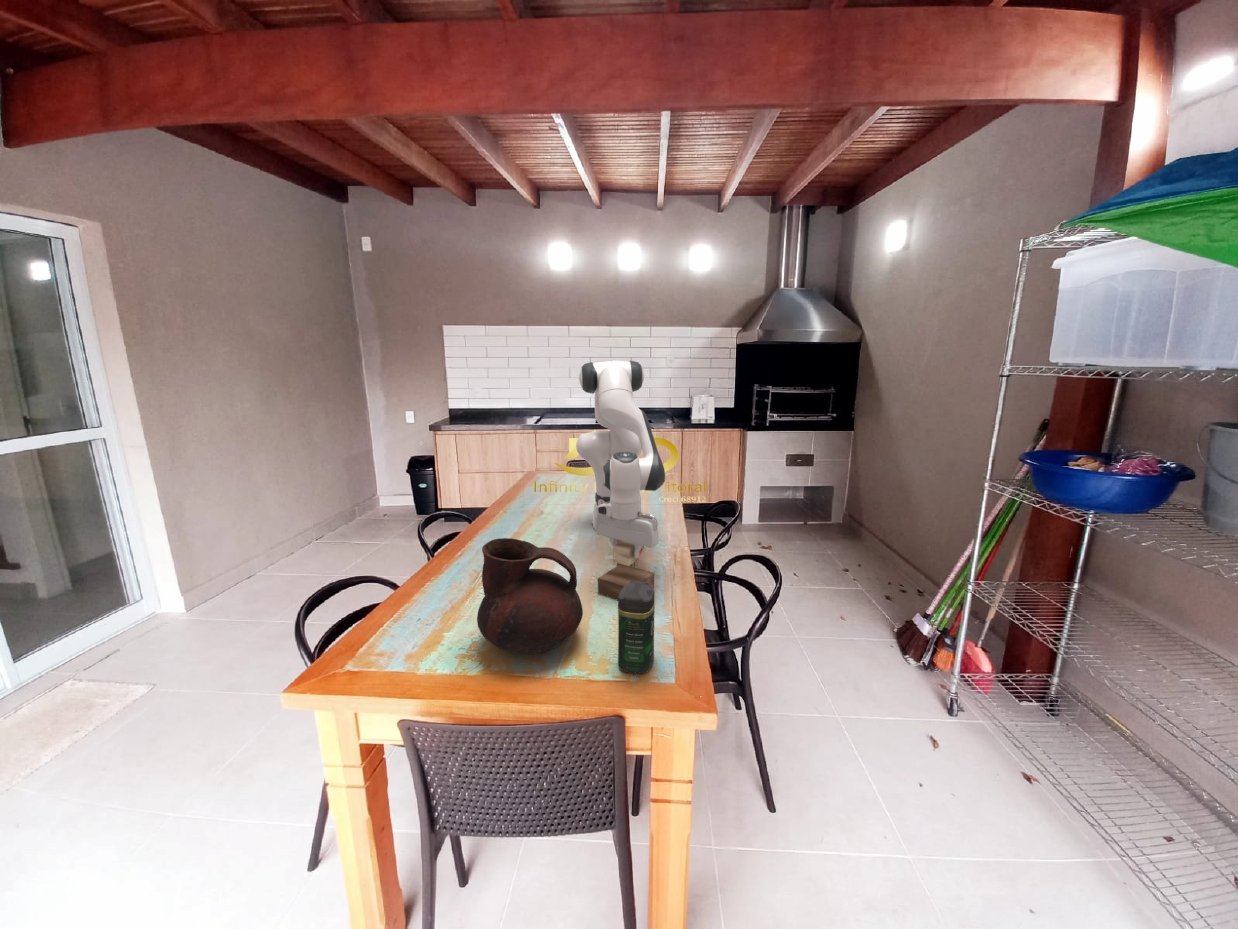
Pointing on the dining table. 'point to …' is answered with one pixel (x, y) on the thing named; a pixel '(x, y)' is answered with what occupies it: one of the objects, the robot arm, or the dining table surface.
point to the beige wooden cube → (624, 553)
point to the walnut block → (622, 579)
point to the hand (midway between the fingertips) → (626, 554)
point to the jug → (526, 598)
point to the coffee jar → (636, 627)
